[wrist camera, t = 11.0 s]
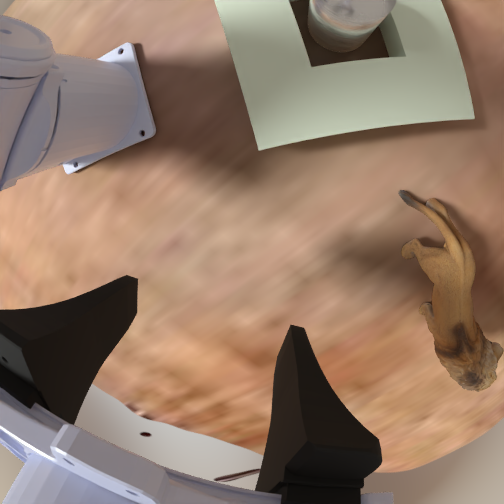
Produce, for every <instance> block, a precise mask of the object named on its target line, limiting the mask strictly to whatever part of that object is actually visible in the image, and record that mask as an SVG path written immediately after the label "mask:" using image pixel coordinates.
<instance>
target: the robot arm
mask: <svg viewBox="0 0 504 504" xmlns="http://www.w3.org/2000/svg"><path fill="white" fill-rule="evenodd" d="M123 49H124V51H123V53H122V54H121V50H123ZM143 130H144V131H145V135H144V136H142V133H141V132H142V131H143ZM155 133H156V127H155V124H154V120H153V117H152V113H151V110H150V106H149V102H148V99H147V95H146V91H145V88H144V84H143V80H142V76H141V72H140V68H139V64H138V60H137V56H136V52H135V48H134V45H133V44H132V43H125V44H123V45H121V46H119V47H117V48H116V49H114V50H112V51H110V52H109V53H107V54H105V55H104V56H102V57H100V58H99V59H97V60H96V59H91V58H85V57H79V56H72V55H65V54H57V53H55V50H54V48H53V45H52V41H51V39H50V38H49V37H48V36H47V35H46V34H45V33H44V32H42V31H41V30H39V29H38V28H36V27H34V26H32V25H30V24H28V23H26V22H23V21H21V20H18V19H15V18H11V17H7V16H3V15H0V191H2V190H4V189H7V188H9V187H12V186H14V185H15V184H16V182H17V180H18V179H21V178H24V177H27V176H30V175H32V174H35V173H38V172H41V171H44V170H47V169H50V168H53V167H57V166H60V165H63V166H64V169H65V172H66V173H67V174H71V173H74V172H76V171H78V170H79V169H81V168H83V167H85V166H87V165H90V164H92V163H94V162H96V161H98V160H100V159H102V158H104V157H106V156H108V155H111V154H113V153H115V152H117V151H120V150H122V149H124V148H126V147H129V146H131V145H134V144H136V143H138V142H141V141H143V140H146V139H148V138H151V137H153V136H154V135H155ZM76 163H78V166H77V165H76ZM137 290H138V279H137V278H134V277H131V276H128V275H126V276H123V277H121V278H118V279H116V280H114V281H112V282H110V283H107V284H105V285H103V286H101V287H99V288H96V289H94V290H92V291H89V292H87V293H84V294H82V295H79V296H77V297H74V298H71V299H68V300H65V301H62V302H58V303H55V304H50V305H45V306H41V307H35V308H27V309H15V310H0V443H1V444H2V445H3V446H5V447H6V448H7V449H8V450H9V451H10V452H12V453H13V454H14V455H15V456H17V457H18V458H19V459H20V460H21V461H23V462H24V463H25V464H24V467H23V468H22V469H21V471H20V473H19V475H18V476H17V478H16V479H15V481H14V483H13V485H12V487H11V488H10V490H9V492H8V493H7V495H6V497H5V499H4V500H3V502H2V504H393V493H392V492H379V493H378V492H377V493H365V494H362V495H361V494H360V488H363V486H364V478H365V477H367V476H368V475H369V474H371V473H372V472H373V471H375V470H376V469H377V468H378V467H379V466H380V465H381V463H382V454H381V447H380V442H379V439H378V438H377V437H376V436H374V435H373V434H372V433H371V432H370V431H369V430H367V429H366V428H365V427H364V426H363V425H362V424H361V423H360V422H359V421H358V420H357V419H356V418H355V417H354V416H353V415H352V414H351V413H350V412H349V410H348V409H347V408H346V407H345V405H344V404H343V403H342V402H341V401H340V399H339V398H338V396H337V395H336V394H335V392H334V391H333V389H332V388H331V386H330V384H329V383H328V381H327V379H326V377H325V375H324V374H323V372H322V370H321V368H320V366H319V363H318V361H317V359H316V357H315V355H314V352H313V350H312V347H311V345H310V342H309V340H308V337H307V334H306V331H305V329H304V328H302V327H298V326H294V325H290V328H289V330H288V332H287V335H286V337H285V340H284V342H283V344H282V347H281V349H280V352H279V354H278V356H277V362H276V367H275V372H274V382H273V398H272V413H271V422H270V428H269V433H268V438H267V443H266V448H265V453H264V457H263V461H262V466H261V470H260V474H259V478H258V481H257V485H256V488H255V491H253V490H248V489H243V488H238V487H233V486H229V485H225V484H220V483H217V482H212V481H209V480H205V479H201V478H197V477H194V476H191V475H188V474H184V473H181V472H178V471H175V470H172V469H169V468H166V467H163V466H160V465H158V464H156V463H154V462H152V461H150V460H148V459H146V458H144V457H142V456H139V455H137V454H135V453H132V452H130V451H128V450H125V449H123V448H121V447H118V446H116V445H114V444H112V443H110V442H107V441H106V440H103V439H101V438H99V437H98V436H95V435H94V434H91V433H90V432H87V431H86V430H84V429H82V428H80V427H77V426H75V425H74V423H75V420H76V418H77V415H78V413H79V410H80V408H81V405H82V403H83V401H84V399H85V396H86V394H87V392H88V390H89V388H90V386H91V384H92V382H93V380H94V378H95V376H96V375H97V373H98V371H99V369H100V367H101V366H102V364H103V363H104V361H105V360H106V358H107V357H108V356H109V354H110V353H111V352H112V350H113V349H114V348H115V346H116V345H117V344H118V342H119V341H120V340H121V338H122V337H123V336H124V334H125V333H126V331H127V330H128V329H129V327H130V325H131V323H132V322H133V320H134V318H135V316H136V314H137Z"/></svg>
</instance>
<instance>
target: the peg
mask: <svg viewBox="0 0 504 504" xmlns="http://www.w3.org/2000/svg"><path fill="white" fill-rule="evenodd" d="M396 1H397V0H310V1H309V13H308V30H309V32H310V34H311V36H312V38H313V39H314V40H315V41H316V42H317V43H318V44H319V45H321V46H322V47H324V48H326V49H328V50H330V51H334V52H350V51H353V50H355V49H357V48H359V47H360V46H361V45H362V44H363V43H364V42H365V40H366V39H367V38H368V37H369V36H370V35H371V33H372V32H373V31H374V30H375V29H376V28H377V27H378V25H379V24H380V23H381V22H382V21H383V20H384V19H385V17H386V16H387V15H388V14H389V13H390V12H391V11H392V9H393V8H394V6H395V4H396Z"/></svg>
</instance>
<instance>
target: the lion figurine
mask: <svg viewBox="0 0 504 504" xmlns="http://www.w3.org/2000/svg"><path fill="white" fill-rule="evenodd" d="M399 195H400V196H401V198H402V199H403V200H404V201H405V202H406V204H407V205H409V206H411V207H413V208H415V209H417V210H419V211H420V212H422V213H423V214H425V215H426V216H427V217H428V218H429V219H430V220H431V221H432V222H433V223H434V224H435V225H436V226H437V227H438V229H439V230H440V232H441V233H442V235H443V236H444V238H445V240H446V242H445V243H444V247H443V248H439V247H425V246H423V245H422V244H421V242H420V241H419V239H417V238H416V239H413V240H412V241H410V242H408V243H406V244H405V245H404V246H403V248H402V251H401V254H402V256H403V257H404V258H405V259H411V258H413V257H415V255H416V257H417V259H418V262H419V264H420V266H421V268H422V270H423V271H424V272H425V273H426V274H427V275H428V277H429V279H430V280H431V281H432V282H433V283H434V287H433V292H432V305H431V304H430V303H424V304H422V306H421V307H420V309H419V312H420V314H422V315H425V317H426V321H427V324H428V328H429V330H430V332H431V333H432V334H433V337H434V339H435V341H434V345H435V352H436V354H437V356H438V358H439V359H440V362H441V364H442V365H443V366H444V367H445V368H446V369H447V371H448V372H449V373H450V376H451V378H453V379H454V380H456V381H457V382H458V384H459V385H460V386H462V388H463V389H466V390H471V391H472V390H475V391H477V392H479V391H481V390H484V389H486V388H488V387H490V386H491V384H492V383H493V382H494V381H495V380H496V378H497V375H496V372H495V370H496V368H497V363H498V360H499V359H500V357H501V356H502V354H503V351H504V350H503V348H502V347H501V346H500V344H498V343H496V342H493V343H492V342H491V341H489V340H488V339H486V338H485V336H484V335H483V332H482V330H481V329H480V327H479V325H478V323H477V322H476V321H475V319H474V316H473V302H472V297H471V287H472V284H473V282H474V277H475V270H476V266H475V261H474V257H473V254H472V251H471V249H470V247H469V245H468V243H467V241H466V240H465V239H464V237H463V236H462V235H461V234H460V233H459V231H458V230H457V229H456V227H455V226H454V225H453V223H452V221H451V219H450V217H449V215H448V212H447V209H446V208H445V207H444V206H443V205H442V204H441V203H439V202H438V201H437V200H436V199H435V198H431V199H429V200H428V201H427V202H426V206H425V205H423V204H421V203H419V202H417V201H416V200H414V199H413V198H412V197H411V195H410V194H409V193H407V192H406V191H404V190H400V191H399Z"/></svg>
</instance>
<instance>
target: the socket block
mask: <svg viewBox="0 0 504 504" xmlns="http://www.w3.org/2000/svg"><path fill="white" fill-rule="evenodd" d="M214 1H215V4H216V7H217V10H218V13H219V16H220V19H221V23H222V26H223V29H224V32H225V35H226V39H227V42H228V45H229V48H230V52H231V55H232V58H233V62H234V65H235V68H236V72H237V75H238V79H239V82H240V85H241V89H242V92H243V96H244V99H245V103H246V106H247V110H248V113H249V117H250V121H251V124H252V128H253V131H254V135H255V139H256V142H257V146H258V150H264V149H268V148H272V147H276V146H281V145H285V144H290V143H295V142H299V141H304V140H309V139H314V138H319V137H325V136H330V135H336V134H342V133H347V132H354V131H360V130H366V129H373V128H380V127H388V126H396V125H404V124H413V123H423V122H435V121H448V120H464V119H475V116H474V110H473V105H472V100H471V95H470V90H469V86H468V82H467V77H466V73H465V70H464V66H463V62H462V59H461V55H460V52H459V49H458V45H457V42H456V39H455V36H454V33H453V30H452V28H451V25H450V22H449V19H448V17H447V14H446V12H445V9H444V7H443V4H442V2H441V0H397V1H396V4H395V6H394V8H393V9H392V11H391V12H390V13H389V14H388V15H387V16H386V17H385V19H384V20H383V21H382V22H381V23H380V24H379V27H380V30H381V33H382V36H383V39H384V42H385V45H386V48H387V51H388V54H389V58H376V59H365V60H356V61H348V62H341V63H334V64H327V65H321V66H315V67H311V64H310V61H309V58H308V55H307V52H306V48H305V45H304V42H303V39H302V36H301V33H300V30H299V27H298V25H297V22H296V19H295V16H294V13H293V11H292V8H291V5H290V3H289V2H292V1H298V0H214Z"/></svg>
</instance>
